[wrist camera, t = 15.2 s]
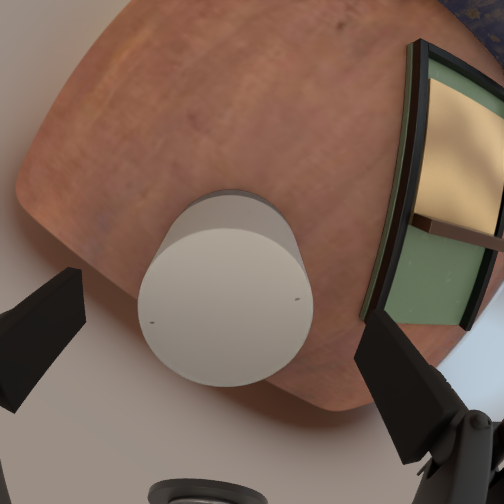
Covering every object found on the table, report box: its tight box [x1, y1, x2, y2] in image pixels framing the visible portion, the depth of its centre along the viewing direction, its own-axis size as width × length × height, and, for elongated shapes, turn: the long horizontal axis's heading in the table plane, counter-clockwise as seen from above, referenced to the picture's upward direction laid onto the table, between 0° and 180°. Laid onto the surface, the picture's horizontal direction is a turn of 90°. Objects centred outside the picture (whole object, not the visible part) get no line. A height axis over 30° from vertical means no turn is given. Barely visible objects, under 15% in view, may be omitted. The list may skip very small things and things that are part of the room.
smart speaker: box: [138, 190, 313, 387], centre depth 19 cm, size 10×9×14 cm
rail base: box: [360, 38, 504, 331], centre depth 24 cm, size 28×15×2 cm, turn 171°
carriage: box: [409, 78, 504, 252], centre depth 21 cm, size 14×12×4 cm
